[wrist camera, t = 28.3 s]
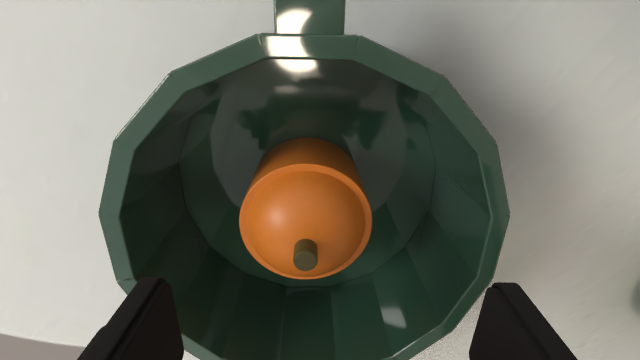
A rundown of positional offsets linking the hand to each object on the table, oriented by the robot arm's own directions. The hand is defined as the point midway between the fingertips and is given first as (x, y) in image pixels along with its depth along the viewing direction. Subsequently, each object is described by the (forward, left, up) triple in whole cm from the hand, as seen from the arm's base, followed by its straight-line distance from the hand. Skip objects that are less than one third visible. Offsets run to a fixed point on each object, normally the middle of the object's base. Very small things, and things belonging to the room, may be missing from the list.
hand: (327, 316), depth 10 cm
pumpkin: (+1, +1, -11) cm, 11 cm away
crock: (+1, 0, -11) cm, 11 cm away
